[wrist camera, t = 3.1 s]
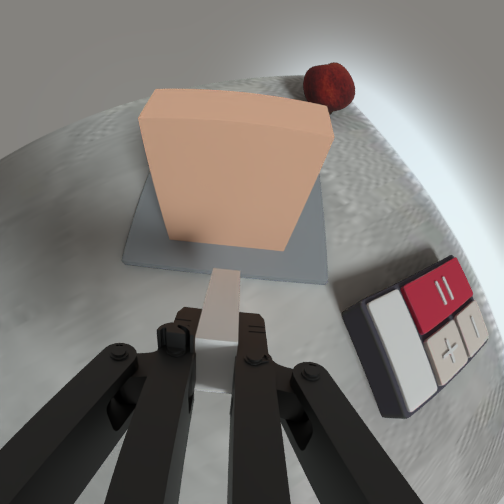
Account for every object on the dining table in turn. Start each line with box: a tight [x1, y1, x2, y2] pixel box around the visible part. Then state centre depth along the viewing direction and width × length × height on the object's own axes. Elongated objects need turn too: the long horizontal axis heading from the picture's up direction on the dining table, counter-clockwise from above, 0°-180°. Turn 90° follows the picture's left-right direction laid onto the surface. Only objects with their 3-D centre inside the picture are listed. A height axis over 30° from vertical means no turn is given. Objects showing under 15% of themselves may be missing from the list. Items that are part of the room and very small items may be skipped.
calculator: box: [342, 255, 489, 419], centre depth 22 cm, size 11×4×15 cm
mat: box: [122, 172, 328, 285], centre depth 28 cm, size 18×19×1 cm
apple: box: [303, 63, 355, 115], centre depth 33 cm, size 7×8×8 cm
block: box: [138, 89, 334, 251], centre depth 19 cm, size 10×3×13 cm, turn 86°
